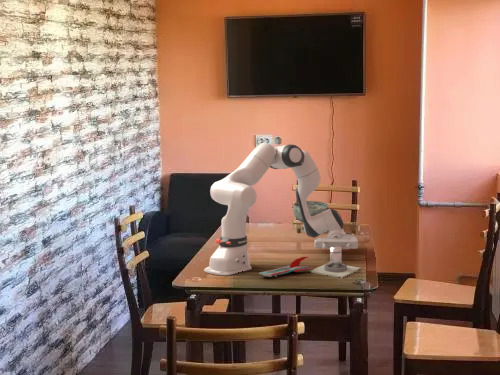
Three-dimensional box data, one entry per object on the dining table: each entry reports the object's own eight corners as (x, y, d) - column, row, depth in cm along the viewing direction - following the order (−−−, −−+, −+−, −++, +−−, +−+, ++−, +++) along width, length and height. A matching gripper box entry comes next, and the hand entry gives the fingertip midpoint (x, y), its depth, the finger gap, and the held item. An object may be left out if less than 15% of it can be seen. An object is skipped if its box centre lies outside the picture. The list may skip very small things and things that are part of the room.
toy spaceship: (270, 285, 305) (268, 273, 304) (253, 281, 314) (251, 269, 313) (317, 268, 322) (315, 256, 321) (300, 264, 331) (298, 253, 330)
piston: (337, 271, 318) (337, 249, 316) (327, 269, 321) (327, 247, 319) (343, 268, 322) (343, 246, 320) (333, 266, 325) (333, 245, 323)
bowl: (319, 236, 386) (319, 208, 384) (287, 232, 396) (287, 205, 394) (335, 228, 403) (335, 202, 400) (304, 225, 413) (304, 199, 410)
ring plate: (342, 278, 310) (342, 273, 310) (310, 272, 320) (310, 267, 319) (360, 269, 323) (360, 264, 322) (329, 264, 332) (329, 259, 332)
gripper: (314, 233, 346) (313, 240, 332) (357, 233, 343) (358, 241, 330) (314, 246, 347) (313, 253, 333) (357, 246, 344) (358, 254, 331)
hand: (336, 247), depth 332 cm, fingers open, 8 cm apart
